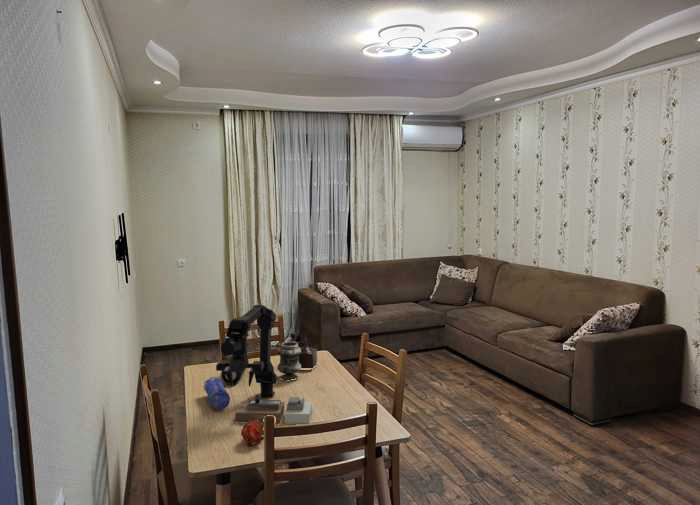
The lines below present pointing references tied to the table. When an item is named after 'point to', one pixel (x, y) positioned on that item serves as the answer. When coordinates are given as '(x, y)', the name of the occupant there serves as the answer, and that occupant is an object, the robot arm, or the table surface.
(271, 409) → the door board
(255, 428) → the dragon fruit
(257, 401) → the lock bolt
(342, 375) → the table surface
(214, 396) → the pencil case
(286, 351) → the apothecary jar
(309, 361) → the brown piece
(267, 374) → the robot arm
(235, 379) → the portable speaker
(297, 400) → the block
